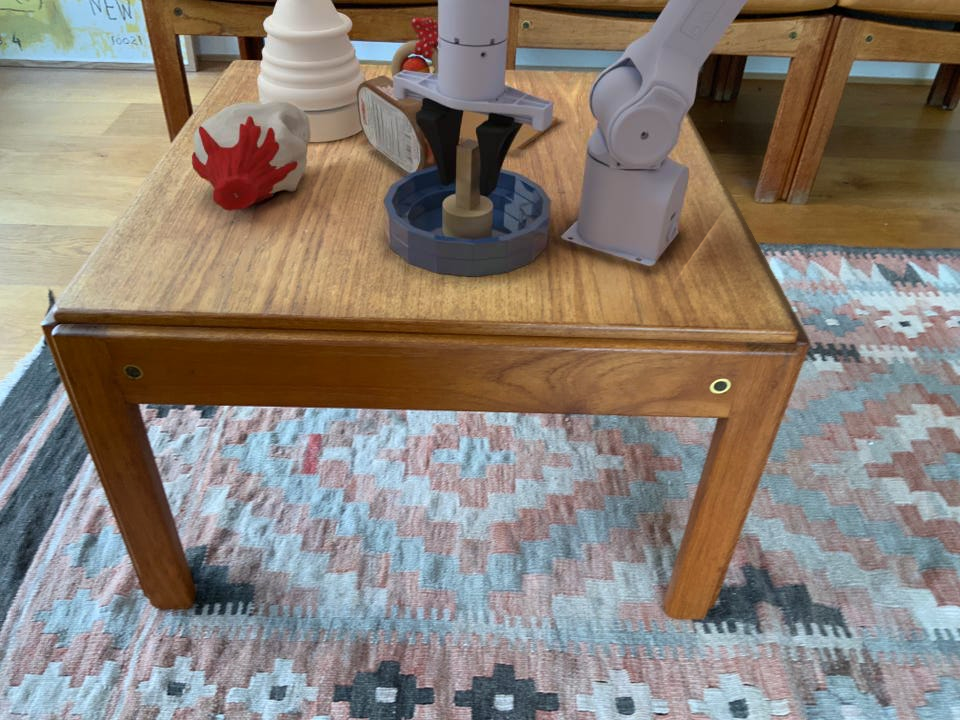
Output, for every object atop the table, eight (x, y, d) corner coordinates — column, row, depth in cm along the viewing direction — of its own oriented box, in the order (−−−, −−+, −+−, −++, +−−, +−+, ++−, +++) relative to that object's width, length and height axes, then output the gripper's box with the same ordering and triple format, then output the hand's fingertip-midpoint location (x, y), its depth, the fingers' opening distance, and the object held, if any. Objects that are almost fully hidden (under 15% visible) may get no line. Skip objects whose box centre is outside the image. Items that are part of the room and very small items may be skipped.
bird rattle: (408, 126, 102) (472, 101, 99) (369, 44, 95) (437, 15, 93) (412, 108, 107) (474, 84, 104) (376, 29, 100) (441, 1, 98)
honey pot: (370, 140, 93) (361, -24, 81) (259, 143, 91) (234, -24, 80) (366, 100, 103) (357, -52, 91) (265, 102, 101) (244, -53, 89)
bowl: (572, 226, 79) (577, 189, 76) (498, 300, 68) (500, 261, 66) (441, 186, 84) (441, 151, 82) (353, 249, 74) (350, 211, 71)
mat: (557, 122, 99) (557, 117, 99) (513, 155, 91) (513, 150, 91) (475, 101, 104) (475, 96, 103) (426, 131, 96) (426, 126, 95)
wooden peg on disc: (500, 228, 77) (505, 141, 71) (476, 249, 73) (479, 160, 68) (458, 215, 78) (460, 128, 73) (432, 235, 75) (432, 146, 69)
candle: (315, 158, 87) (303, 241, 77) (212, 156, 86) (185, 241, 76) (307, 81, 81) (292, 161, 71) (195, 79, 80) (163, 160, 70)
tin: (445, 185, 85) (446, 109, 79) (420, 192, 83) (419, 115, 78) (378, 135, 94) (374, 64, 89) (354, 141, 93) (349, 69, 87)
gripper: (572, 37, 65) (556, 187, 73) (420, 9, 69) (421, 153, 78) (539, 62, 60) (526, 219, 68) (377, 30, 64) (384, 181, 73)
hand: (468, 186), depth 73 cm, fingers open, 3 cm apart
